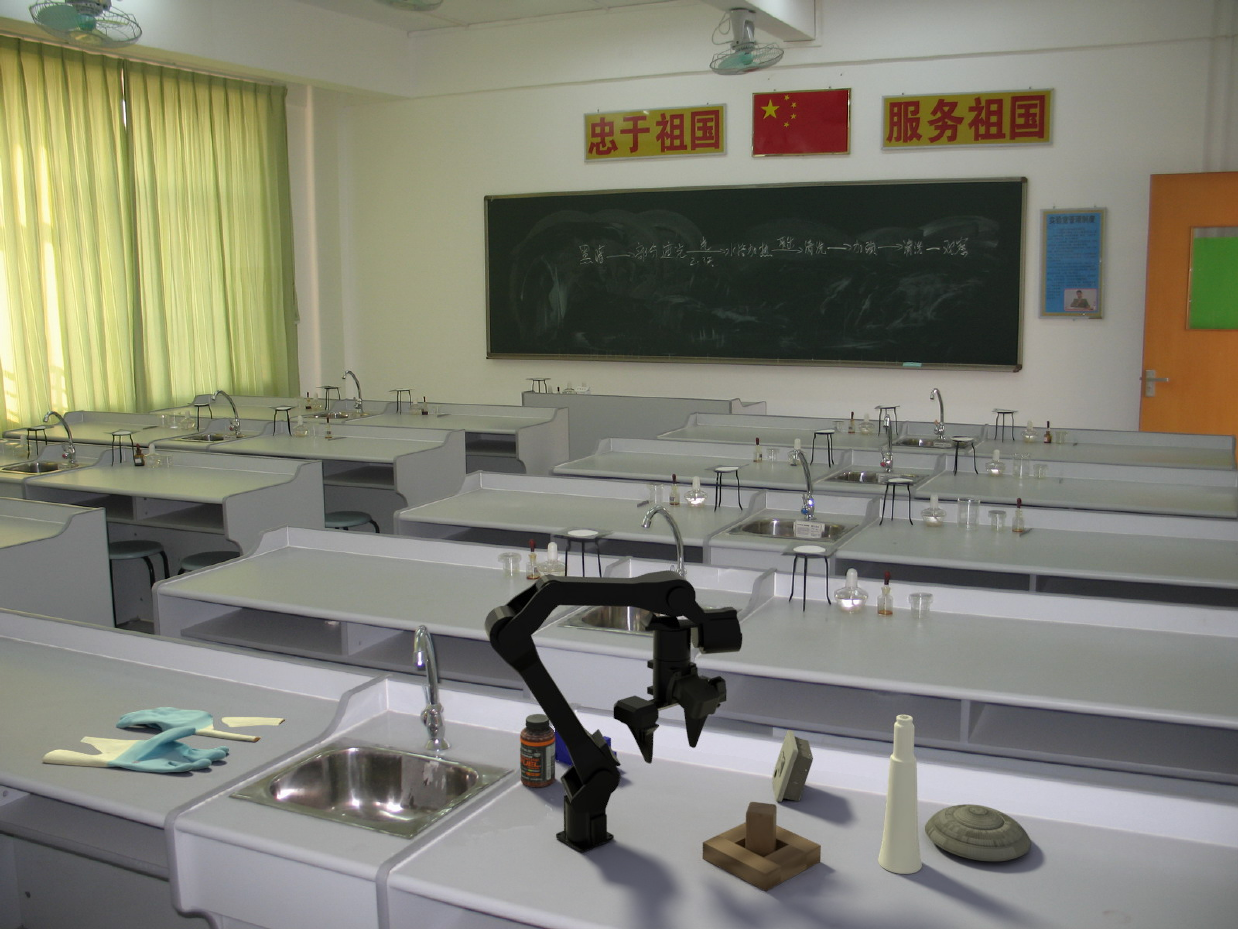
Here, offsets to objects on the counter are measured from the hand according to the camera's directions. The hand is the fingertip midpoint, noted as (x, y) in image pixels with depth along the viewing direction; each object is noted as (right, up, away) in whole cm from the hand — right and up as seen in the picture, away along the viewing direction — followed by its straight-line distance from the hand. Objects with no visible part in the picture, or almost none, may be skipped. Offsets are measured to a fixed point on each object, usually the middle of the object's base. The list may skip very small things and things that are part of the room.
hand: (670, 754), depth 162 cm
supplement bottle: (-22, -10, +19) cm, 30 cm away
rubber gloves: (-92, -8, +37) cm, 100 cm away
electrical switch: (+21, -10, +15) cm, 27 cm away
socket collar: (+13, -13, -8) cm, 20 cm away
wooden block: (+13, -13, -8) cm, 20 cm away
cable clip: (-14, -9, +26) cm, 31 cm away
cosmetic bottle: (+33, -13, -9) cm, 36 cm away
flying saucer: (+46, -13, -3) cm, 47 cm away
